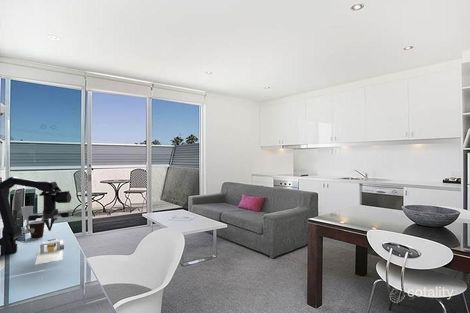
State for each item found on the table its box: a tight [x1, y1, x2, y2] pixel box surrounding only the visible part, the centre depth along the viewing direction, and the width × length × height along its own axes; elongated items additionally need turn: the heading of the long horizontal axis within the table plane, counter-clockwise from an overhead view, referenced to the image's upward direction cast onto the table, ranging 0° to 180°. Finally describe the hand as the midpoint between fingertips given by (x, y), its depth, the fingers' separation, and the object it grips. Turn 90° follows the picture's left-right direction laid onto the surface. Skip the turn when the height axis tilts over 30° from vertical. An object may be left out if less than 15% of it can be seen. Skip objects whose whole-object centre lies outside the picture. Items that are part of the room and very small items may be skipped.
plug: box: [47, 238, 57, 252], centre depth 154 cm, size 4×14×3 cm, turn 32°
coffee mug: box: [25, 219, 46, 239], centre depth 178 cm, size 12×9×10 cm
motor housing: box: [39, 239, 65, 253], centre depth 151 cm, size 11×5×5 cm, turn 122°
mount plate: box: [34, 239, 64, 266], centre depth 150 cm, size 12×38×1 cm, turn 32°
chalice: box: [20, 205, 34, 234], centre depth 188 cm, size 7×7×18 cm
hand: (49, 230), depth 150 cm, fingers closed
